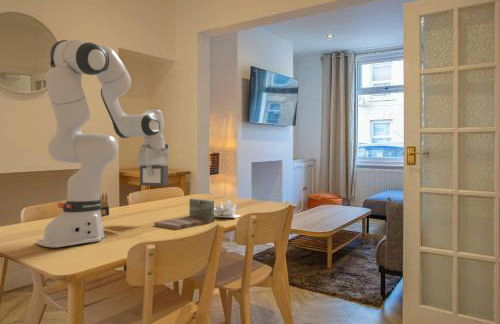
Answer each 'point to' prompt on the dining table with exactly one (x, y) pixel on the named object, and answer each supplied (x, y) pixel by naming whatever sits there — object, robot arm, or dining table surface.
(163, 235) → the dining table surface
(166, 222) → the bookend
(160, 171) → the picture frame
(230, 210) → the lotus flower
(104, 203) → the ammunition clip
